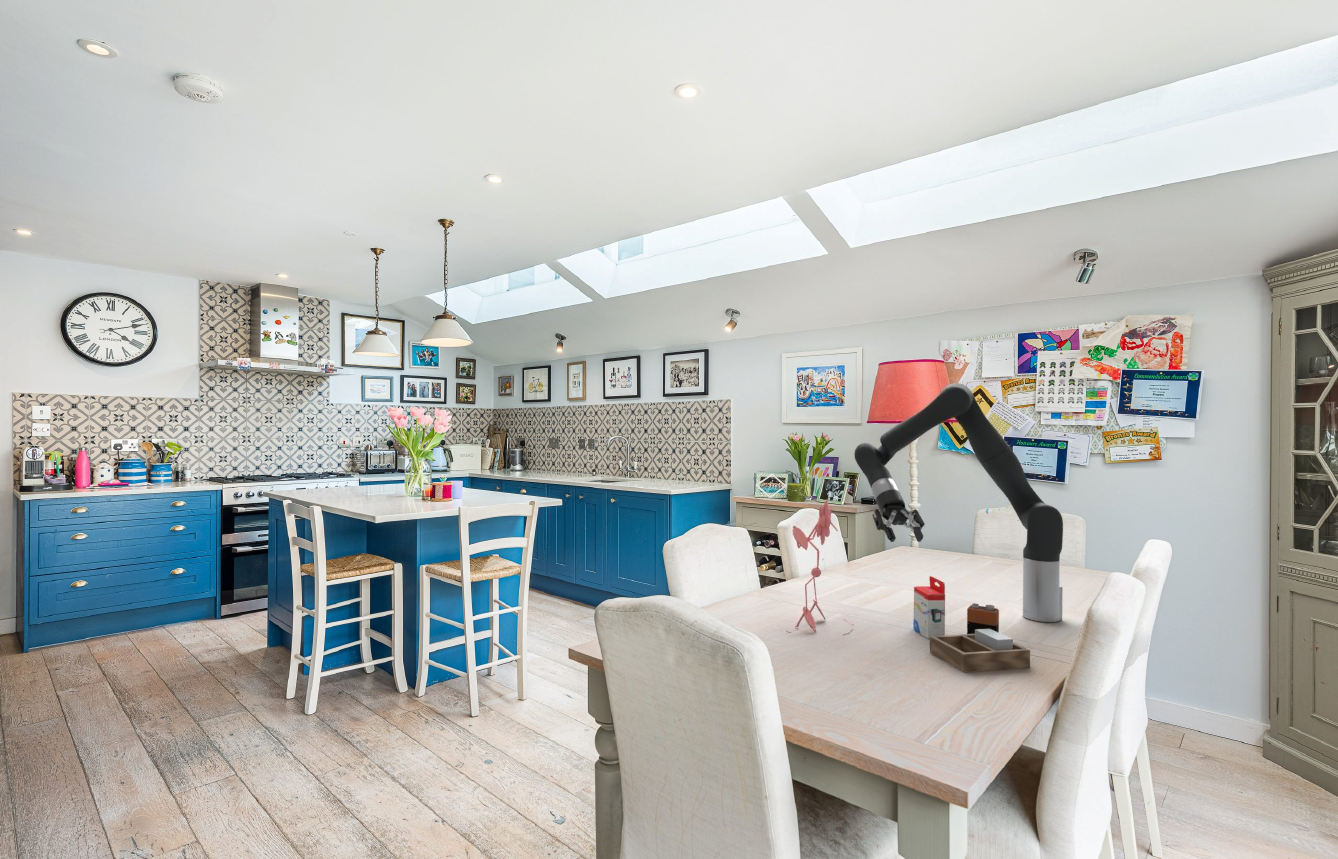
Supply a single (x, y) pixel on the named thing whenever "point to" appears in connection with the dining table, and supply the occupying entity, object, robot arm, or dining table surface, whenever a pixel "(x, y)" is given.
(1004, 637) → the grey block
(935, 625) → the ink box
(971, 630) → the battery
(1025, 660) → the slot rack
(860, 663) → the dining table surface
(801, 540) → the figurine
